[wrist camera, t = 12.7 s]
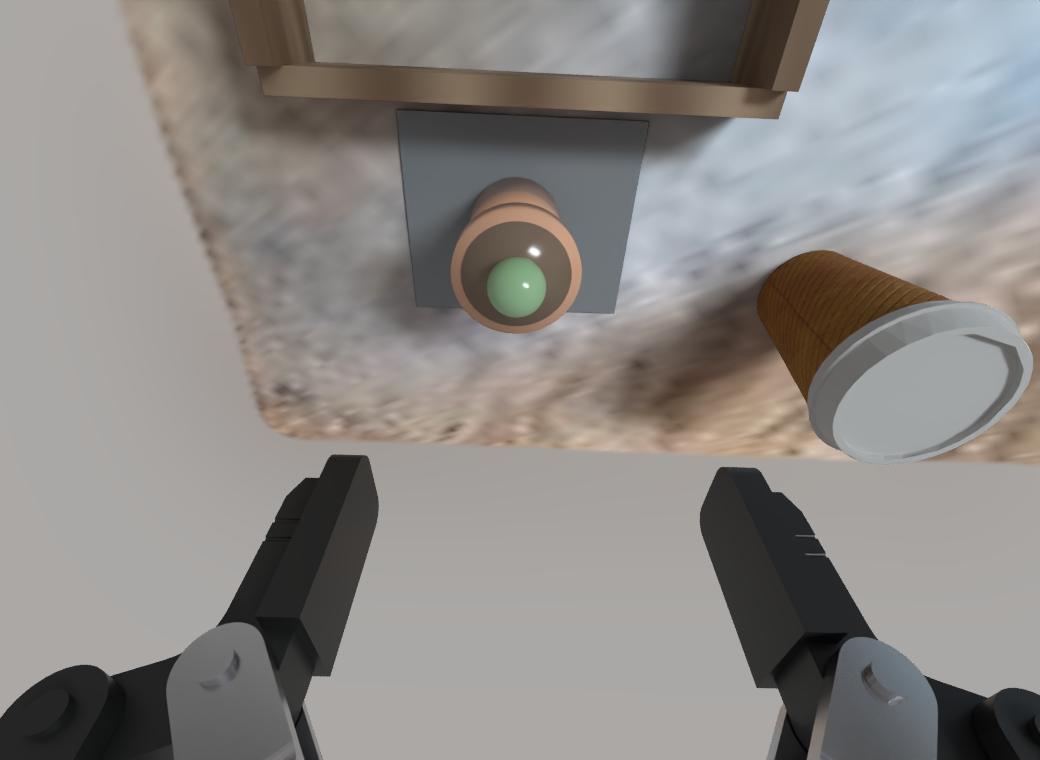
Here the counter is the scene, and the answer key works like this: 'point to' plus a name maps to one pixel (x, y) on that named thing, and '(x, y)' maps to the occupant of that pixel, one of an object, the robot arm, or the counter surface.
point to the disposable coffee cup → (890, 358)
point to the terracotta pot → (515, 259)
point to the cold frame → (751, 93)
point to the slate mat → (528, 154)
